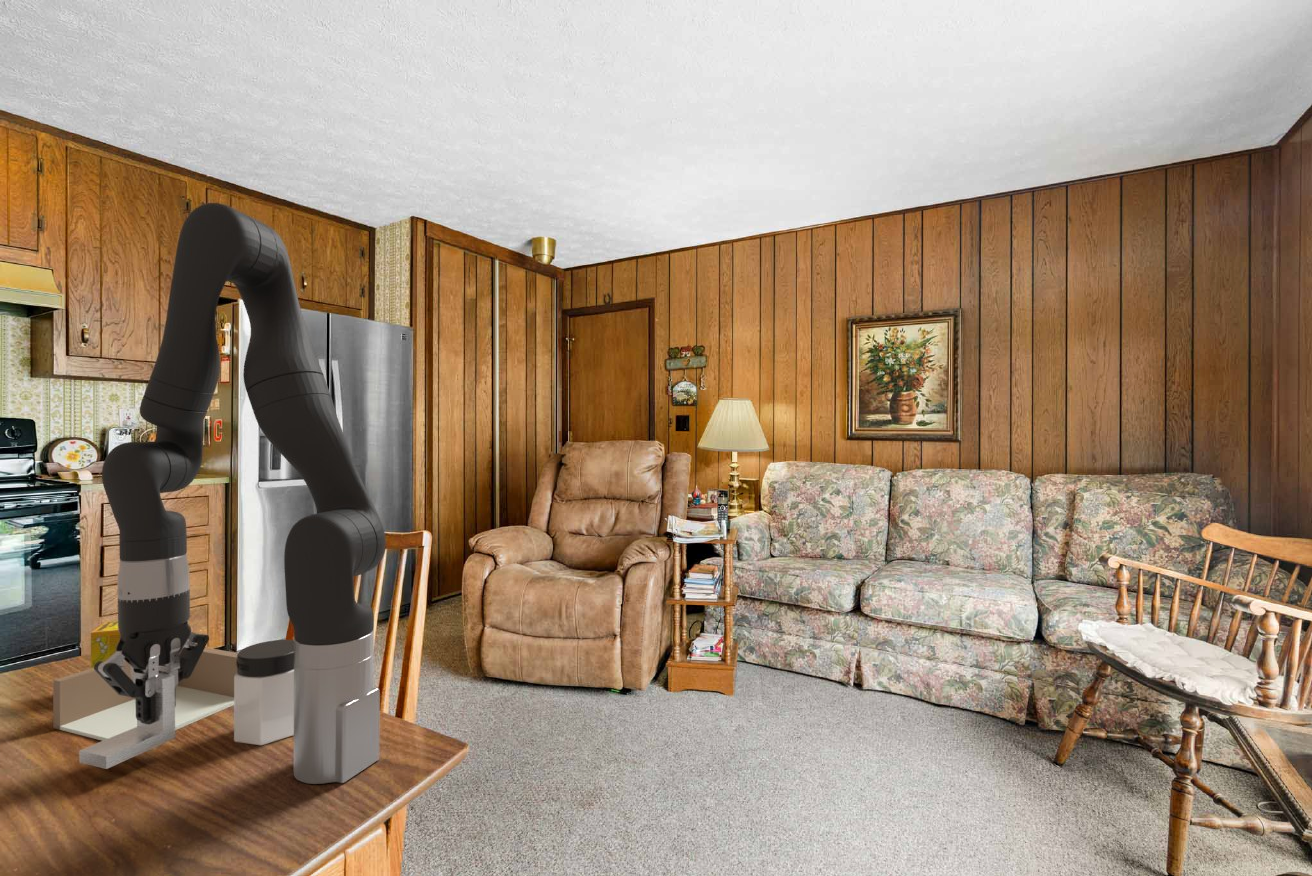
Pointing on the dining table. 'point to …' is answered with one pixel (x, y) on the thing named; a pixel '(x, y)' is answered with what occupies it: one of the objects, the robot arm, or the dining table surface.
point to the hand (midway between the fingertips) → (156, 718)
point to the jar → (264, 693)
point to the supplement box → (104, 642)
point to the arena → (105, 714)
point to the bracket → (138, 731)
